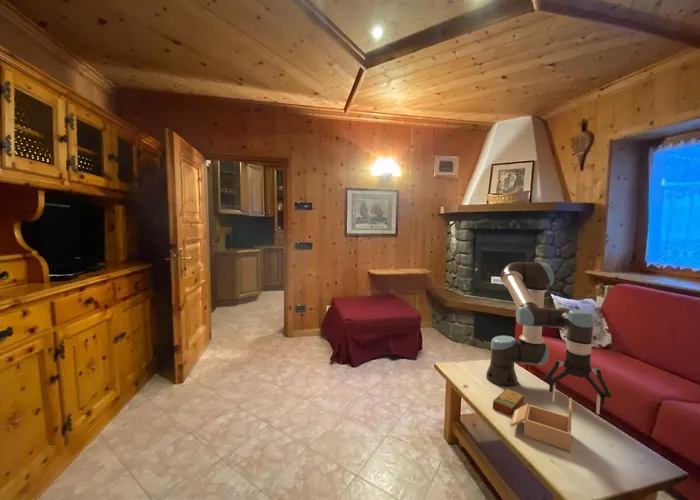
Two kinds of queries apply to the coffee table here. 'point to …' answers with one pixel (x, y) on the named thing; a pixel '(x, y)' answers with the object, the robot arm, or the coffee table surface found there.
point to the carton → (508, 402)
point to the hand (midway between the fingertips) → (574, 406)
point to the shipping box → (543, 426)
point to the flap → (569, 414)
